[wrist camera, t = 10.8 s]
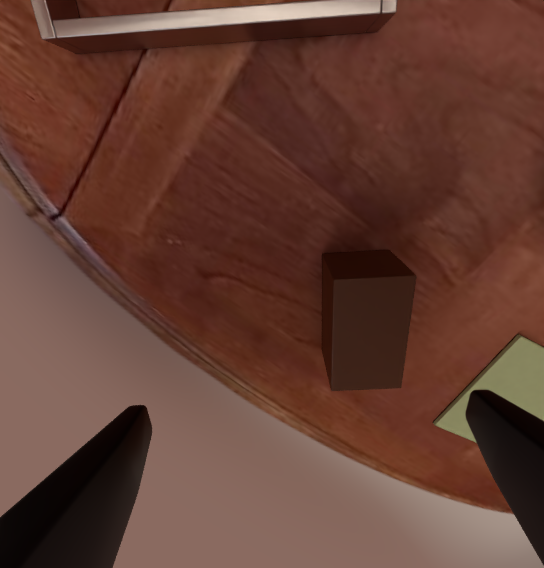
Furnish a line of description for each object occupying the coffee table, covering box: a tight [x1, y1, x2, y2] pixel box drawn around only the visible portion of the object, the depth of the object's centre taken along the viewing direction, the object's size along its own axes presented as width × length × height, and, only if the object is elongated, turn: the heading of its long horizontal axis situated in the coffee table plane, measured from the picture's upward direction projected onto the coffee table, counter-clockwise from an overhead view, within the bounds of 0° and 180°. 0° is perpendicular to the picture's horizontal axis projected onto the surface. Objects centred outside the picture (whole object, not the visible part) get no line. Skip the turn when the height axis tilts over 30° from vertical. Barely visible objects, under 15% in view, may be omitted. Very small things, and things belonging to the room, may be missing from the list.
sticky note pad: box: [433, 334, 544, 443], centre depth 24 cm, size 9×12×1 cm
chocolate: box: [322, 250, 416, 391], centre depth 19 cm, size 7×4×4 cm, turn 3°
